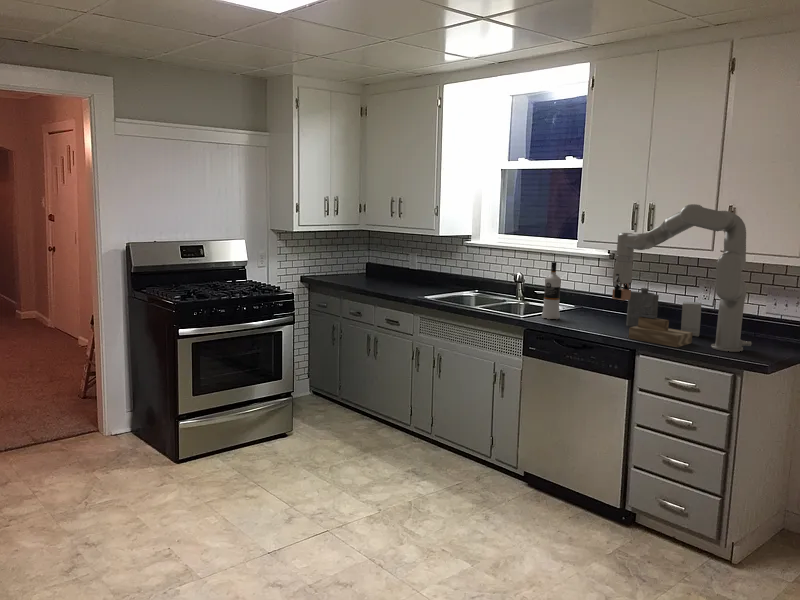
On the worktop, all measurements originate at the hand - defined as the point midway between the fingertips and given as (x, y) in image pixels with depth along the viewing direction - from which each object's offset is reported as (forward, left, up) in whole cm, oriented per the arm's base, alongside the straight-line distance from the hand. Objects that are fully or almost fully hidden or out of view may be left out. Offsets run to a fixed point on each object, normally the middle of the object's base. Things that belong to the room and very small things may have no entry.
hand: (621, 296), depth 322 cm
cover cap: (0, 0, -1) cm, 1 cm away
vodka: (+25, -36, -18) cm, 47 cm away
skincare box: (-34, -1, -18) cm, 38 cm away
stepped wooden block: (-14, +15, -17) cm, 27 cm away
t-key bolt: (-9, +9, -8) cm, 15 cm away
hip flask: (-16, -16, -18) cm, 29 cm away
